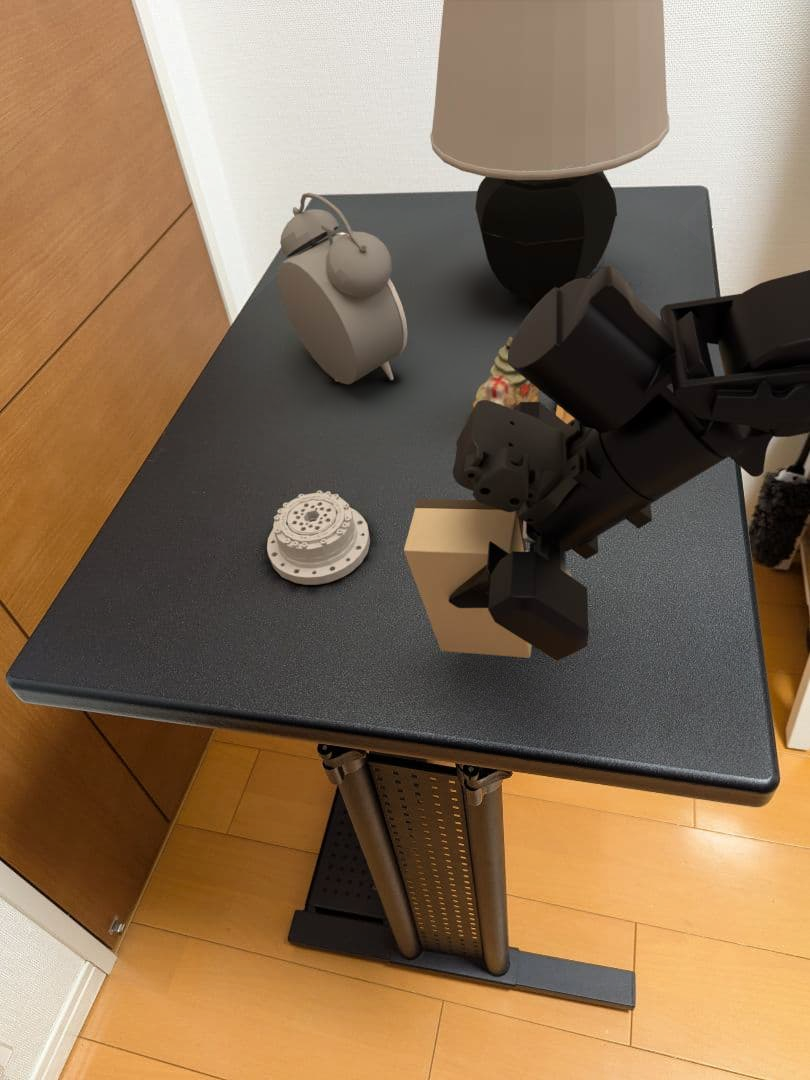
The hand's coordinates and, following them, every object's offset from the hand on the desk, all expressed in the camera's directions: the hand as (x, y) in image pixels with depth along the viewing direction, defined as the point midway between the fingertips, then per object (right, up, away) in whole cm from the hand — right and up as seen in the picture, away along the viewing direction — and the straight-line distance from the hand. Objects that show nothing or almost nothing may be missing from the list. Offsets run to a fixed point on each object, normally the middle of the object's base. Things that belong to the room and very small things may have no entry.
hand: (456, 575), depth 55 cm
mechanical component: (-12, +2, +21) cm, 24 cm away
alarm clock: (-10, +23, +41) cm, 48 cm away
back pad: (+3, -5, +5) cm, 7 cm away
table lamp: (+15, +35, +49) cm, 62 cm away
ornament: (+8, +16, +31) cm, 36 cm away
